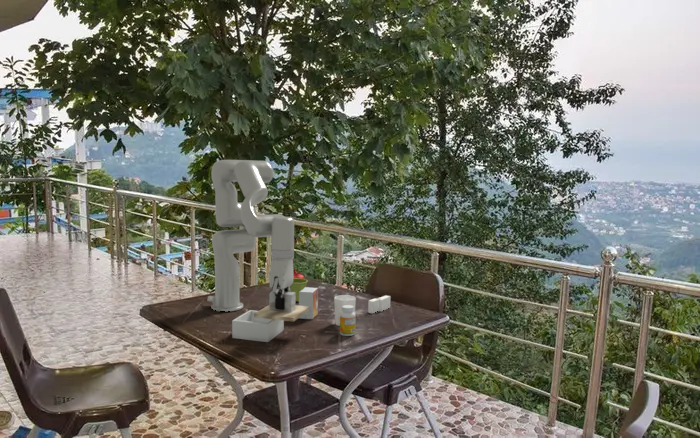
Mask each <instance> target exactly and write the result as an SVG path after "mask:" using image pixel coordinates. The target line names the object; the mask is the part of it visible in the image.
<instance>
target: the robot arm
mask: <svg viewBox="0 0 700 438" xmlns="http://www.w3.org/2000/svg"><path fill="white" fill-rule="evenodd" d="M210 176H211V180H212V184H213V189H214V194H215V203H214V204H215V221H216V223H217V225H218V226H219V227H222V228H230V227H241V229H226V230H219V231H217V232H215V233H214V234H213V236H212V238H211V245H212V250H213V255H214V256H213V258H214V293H215V294H214V295H208V296H207V300H206V301H207V302H210V303H212V304H211V306H210V307H211V310H212V309H213V310H212V311H215V310H216V311H215V312H220V311H225V312H226V313H227V312H228V311H230V312H235V311H239V310H240V311H241V309H243V308H244V303H243V302H241V301H240V264H239V261H238V259H237V258H236V257H235V256H234V254H235V255H236V254H240V253H241V254H242V253H249V252H252V251H254V249H255V248H256V243H257V238H266V237H270V240H271V241H270V242H271V249H270V250H271V251H270V252H271V255H270V256H271V257H270V258H271V262H270V269H269V288H270V289H272V291H271V292H273V293H274V294H275V309H280V310H284V309H285V298H283V297H284V291H285V292H290V287H291V284H292V283H293V275H294V274H293V273H294V271H293V270H294V259H295V220H294V219H293V218H292V217H290V216H284V215H283V214H277V213H276V214H275V213H274V214H256V213H257V212H256V209H255V206H256V205H258V204H260V203H261V202H263V201H264V200H266V199H267V197H268V194H269V190H268V188H267V186H266V184H267V183H270V182H271V181H272V180H273V177H274V169H273V166H272V165H271V164H270V163H269V162H268V161H267V160H254V159H253V160H251V159H248V160H247V159H220V160H216V162H214V163H213V164H212V167H211V175H210ZM233 182H234V183H235V182H236V183H237V184H238V186H239V188H240V190H241V192H242V194H243V197H244V200H243V201H242V202H238V190H237V188H236V186H235V185H234V184H233ZM280 291H281V292H280ZM225 312H224V313H225ZM228 313H229V312H228Z"/></svg>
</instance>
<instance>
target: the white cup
mask: <svg viewBox="0 0 700 438" xmlns="http://www.w3.org/2000/svg"><path fill="white" fill-rule="evenodd" d="M356 302H357V299H356V296H354V295H348V294H341V295H336V296H334V302H333V303H334V317H335V318H334V319H335V320H334V321H335V322H334V323H335V325H336V326H338V327H340V313H341V312H343V311H342V306H344V305H352V306H354V311H353V312H354V313H355V314H356Z"/></svg>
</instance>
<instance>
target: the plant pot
mask: <svg viewBox="0 0 700 438" xmlns="http://www.w3.org/2000/svg"><path fill="white" fill-rule="evenodd" d="M308 281H309V280H307V279H306V278H305V279H299V278H294V279H293V283H292V284H291V287H290V292H296V301H295V302H298V303H299V292H300V291H301V290H302V289H304V288H305V287H307V283H308Z"/></svg>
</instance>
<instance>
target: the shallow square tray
mask: <svg viewBox="0 0 700 438" xmlns="http://www.w3.org/2000/svg"><path fill="white" fill-rule="evenodd" d="M258 311H259V310H251V309H250V310H248V311H246V312H244V313H243V314H241V315H239V316H237V317H236V318H234V319H233V320H231V321H232V323H231V327H232V328H231V329H232V331H231V335H232V339H237V340H238V339H241V340H246V341H247V340H248V341H256V342H263V343H264V342H265V343H268V342H270V341H271V340H273V339H274V338H275V337H276V336H278V335H279V334H281V333H282V332H283V331H284V330H285V329H284V326H285V323H284V322H285V321H284V320H275V319H265V318H256V317H254V314H255V313H256V312H258Z"/></svg>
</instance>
